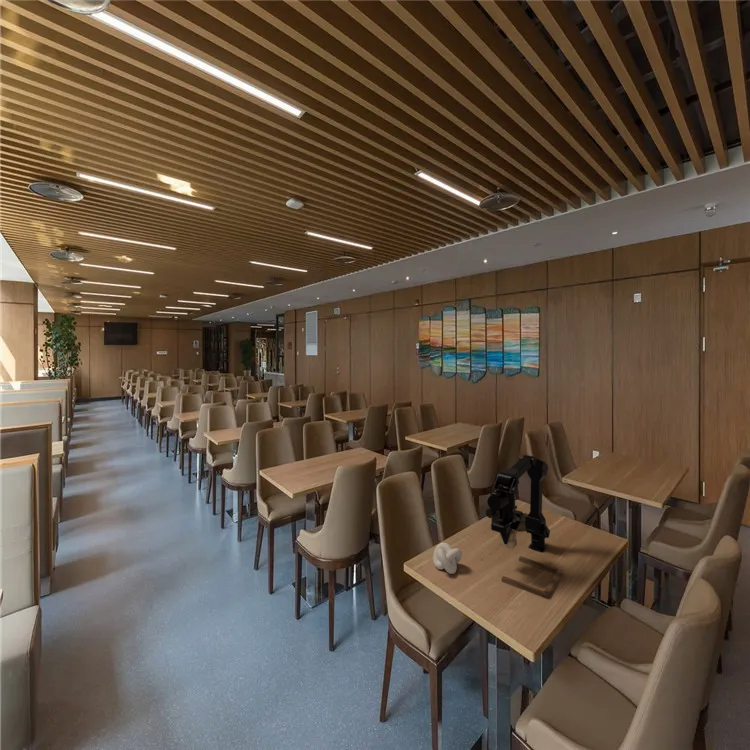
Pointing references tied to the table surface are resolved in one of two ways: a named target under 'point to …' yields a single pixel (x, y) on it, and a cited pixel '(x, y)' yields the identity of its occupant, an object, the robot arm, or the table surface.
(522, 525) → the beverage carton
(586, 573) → the table surface
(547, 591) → the bay
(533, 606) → the table surface
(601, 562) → the table surface
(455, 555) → the white decorative knot
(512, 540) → the oak block
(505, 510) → the robot arm
